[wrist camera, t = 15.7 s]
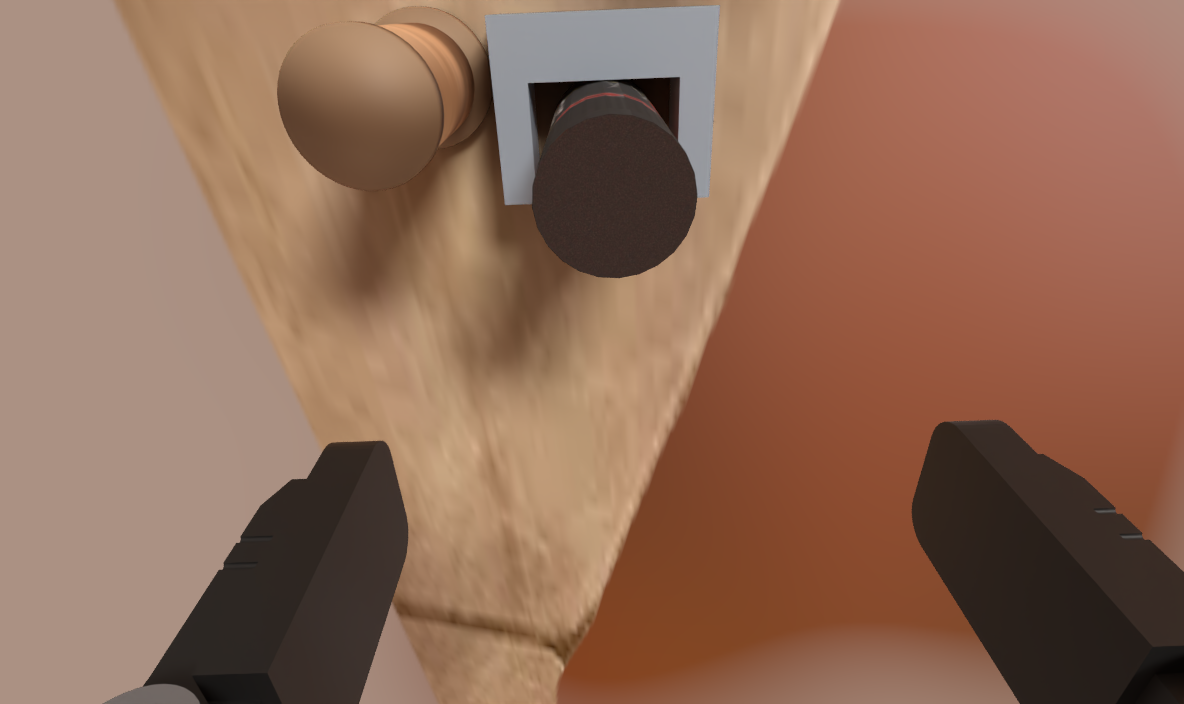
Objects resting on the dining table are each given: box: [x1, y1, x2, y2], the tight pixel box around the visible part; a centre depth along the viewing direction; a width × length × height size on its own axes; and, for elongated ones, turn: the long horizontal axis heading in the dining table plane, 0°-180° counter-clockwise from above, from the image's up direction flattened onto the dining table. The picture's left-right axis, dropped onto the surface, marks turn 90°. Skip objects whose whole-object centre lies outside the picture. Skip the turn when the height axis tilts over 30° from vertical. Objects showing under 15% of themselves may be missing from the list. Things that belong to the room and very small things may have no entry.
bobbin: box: [277, 7, 493, 191], centre depth 29 cm, size 7×7×12 cm
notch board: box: [485, 5, 720, 205], centre depth 33 cm, size 9×11×4 cm
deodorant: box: [532, 79, 698, 278], centre depth 29 cm, size 6×6×15 cm
